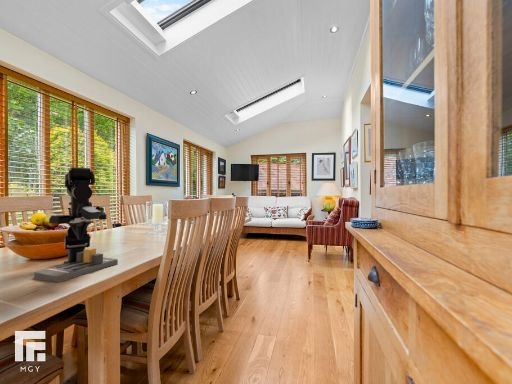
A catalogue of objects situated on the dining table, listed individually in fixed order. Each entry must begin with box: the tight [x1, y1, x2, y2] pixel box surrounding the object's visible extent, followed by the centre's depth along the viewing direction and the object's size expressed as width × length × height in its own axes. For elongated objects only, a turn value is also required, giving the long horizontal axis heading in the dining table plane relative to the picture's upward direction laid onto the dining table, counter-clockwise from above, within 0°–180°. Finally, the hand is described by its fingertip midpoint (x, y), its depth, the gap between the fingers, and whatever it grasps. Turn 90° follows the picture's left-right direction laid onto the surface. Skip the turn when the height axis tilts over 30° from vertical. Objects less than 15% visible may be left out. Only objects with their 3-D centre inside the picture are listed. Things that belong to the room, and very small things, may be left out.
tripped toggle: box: [84, 247, 97, 263], centre depth 103 cm, size 3×3×5 cm
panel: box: [33, 251, 119, 283], centre depth 99 cm, size 12×24×6 cm, turn 160°
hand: (79, 239), depth 99 cm, fingers closed
